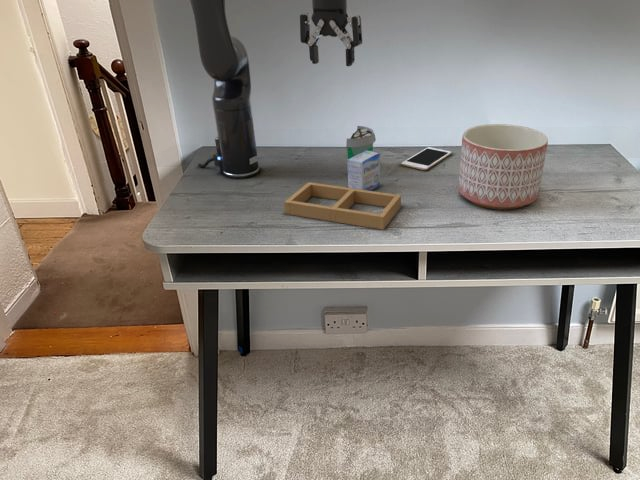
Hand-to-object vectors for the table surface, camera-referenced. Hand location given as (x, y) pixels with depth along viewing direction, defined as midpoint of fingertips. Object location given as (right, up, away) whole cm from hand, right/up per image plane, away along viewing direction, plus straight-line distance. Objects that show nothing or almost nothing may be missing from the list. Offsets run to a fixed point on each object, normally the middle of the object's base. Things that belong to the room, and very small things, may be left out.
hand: (332, 64), depth 128 cm
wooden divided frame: (+3, -34, -1) cm, 34 cm away
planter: (+40, -30, +6) cm, 50 cm away
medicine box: (+7, -27, +10) cm, 30 cm away
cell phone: (+24, -16, +28) cm, 40 cm away
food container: (+7, -20, +21) cm, 30 cm away
